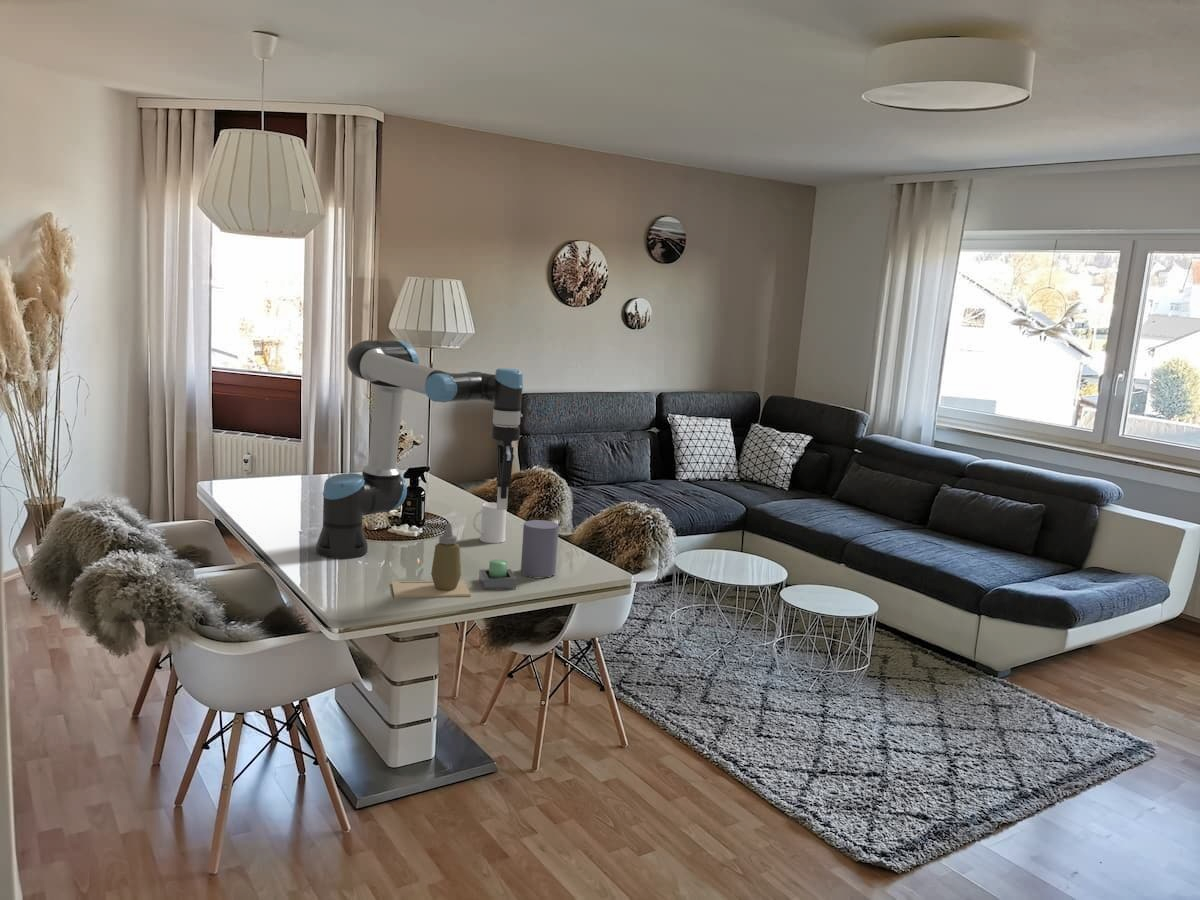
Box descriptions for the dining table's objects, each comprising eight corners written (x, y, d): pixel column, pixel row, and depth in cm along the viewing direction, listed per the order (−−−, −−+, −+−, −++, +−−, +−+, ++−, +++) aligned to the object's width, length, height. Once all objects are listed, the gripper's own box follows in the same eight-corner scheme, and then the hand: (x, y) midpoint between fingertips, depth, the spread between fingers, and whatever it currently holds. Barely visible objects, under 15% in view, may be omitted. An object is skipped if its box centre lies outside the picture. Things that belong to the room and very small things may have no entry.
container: (520, 567, 275) (523, 519, 273) (555, 569, 276) (558, 521, 273) (520, 577, 265) (523, 527, 262) (555, 579, 266) (559, 529, 263)
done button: (490, 582, 254) (491, 564, 253) (487, 576, 258) (488, 559, 257) (507, 581, 255) (508, 564, 254) (504, 576, 260) (505, 559, 259)
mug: (476, 545, 296) (478, 509, 294) (466, 538, 303) (468, 503, 301) (509, 542, 302) (511, 507, 300) (498, 536, 309) (500, 501, 308)
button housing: (483, 589, 251) (484, 579, 251) (478, 579, 260) (479, 569, 259) (515, 589, 254) (516, 578, 253) (509, 579, 262) (510, 569, 262)
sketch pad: (394, 597, 239) (394, 595, 239) (391, 583, 250) (391, 581, 250) (470, 596, 245) (470, 594, 245) (464, 582, 256) (464, 580, 256)
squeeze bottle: (431, 582, 252) (434, 519, 250) (461, 583, 253) (464, 520, 250) (429, 591, 244) (432, 526, 242) (459, 592, 245) (462, 527, 242)
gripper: (524, 429, 245) (519, 514, 248) (515, 422, 257) (510, 503, 261) (497, 428, 243) (492, 514, 246) (489, 421, 255) (484, 503, 258)
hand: (501, 509), depth 253 cm, fingers closed
